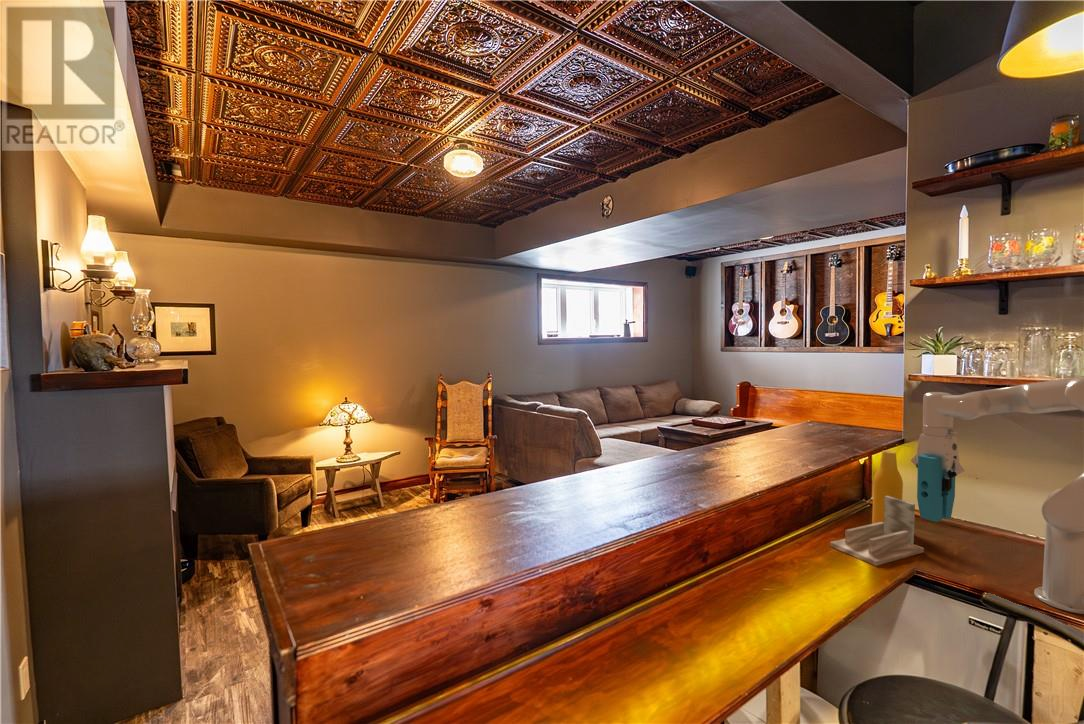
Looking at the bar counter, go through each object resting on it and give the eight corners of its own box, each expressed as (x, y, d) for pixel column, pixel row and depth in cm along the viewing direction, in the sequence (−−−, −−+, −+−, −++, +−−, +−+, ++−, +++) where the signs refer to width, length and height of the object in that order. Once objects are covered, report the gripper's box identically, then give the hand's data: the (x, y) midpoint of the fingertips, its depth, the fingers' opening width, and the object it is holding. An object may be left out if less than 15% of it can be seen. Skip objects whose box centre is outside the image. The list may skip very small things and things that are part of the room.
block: (938, 511, 166) (939, 451, 165) (955, 516, 161) (957, 454, 160) (915, 517, 161) (916, 455, 160) (932, 522, 156) (933, 458, 155)
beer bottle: (866, 525, 194) (868, 450, 192) (881, 521, 198) (883, 447, 196) (891, 534, 185) (894, 455, 183) (907, 529, 189) (909, 453, 187)
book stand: (923, 552, 170) (925, 507, 169) (875, 565, 161) (877, 518, 160) (876, 534, 185) (877, 493, 184) (830, 546, 176) (831, 502, 175)
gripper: (976, 435, 153) (974, 494, 154) (916, 426, 169) (915, 480, 170) (961, 437, 150) (959, 498, 151) (901, 428, 166) (900, 482, 167)
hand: (936, 487), depth 161 cm, fingers closed on block, 5 cm apart
